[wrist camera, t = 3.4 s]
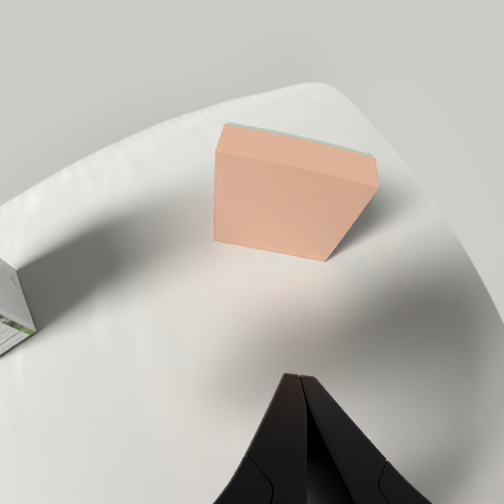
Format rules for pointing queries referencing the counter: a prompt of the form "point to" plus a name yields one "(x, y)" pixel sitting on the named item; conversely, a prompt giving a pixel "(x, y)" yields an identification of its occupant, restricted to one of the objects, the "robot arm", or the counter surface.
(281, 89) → the counter surface
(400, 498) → the robot arm
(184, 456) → the counter surface
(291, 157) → the tile
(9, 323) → the syrup box
